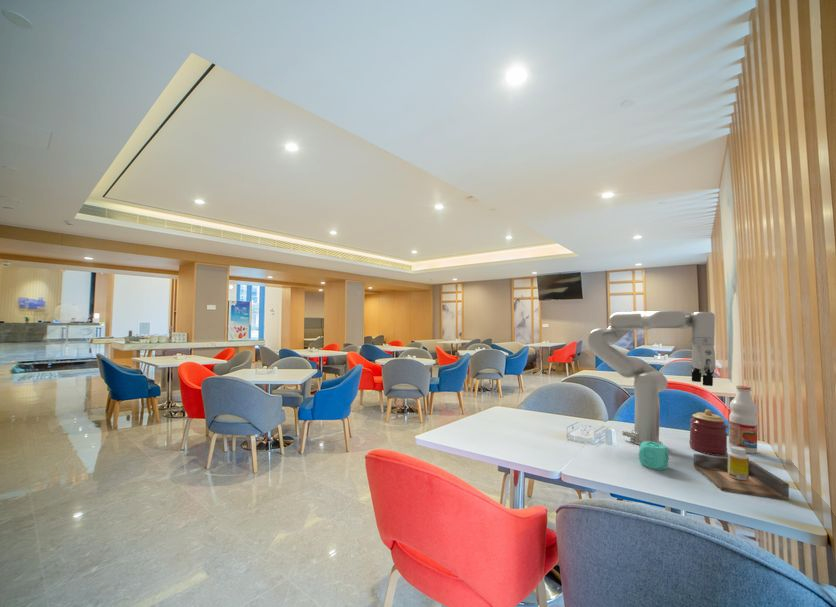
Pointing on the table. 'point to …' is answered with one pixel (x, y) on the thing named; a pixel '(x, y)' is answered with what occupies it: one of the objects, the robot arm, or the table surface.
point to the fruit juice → (743, 421)
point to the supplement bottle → (738, 463)
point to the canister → (708, 433)
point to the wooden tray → (756, 484)
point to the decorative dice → (653, 455)
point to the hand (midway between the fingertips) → (701, 383)
